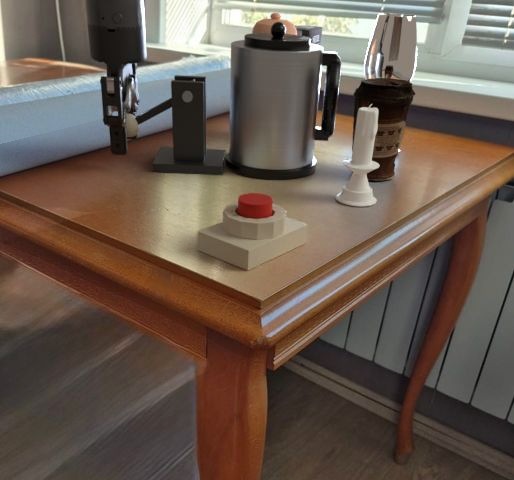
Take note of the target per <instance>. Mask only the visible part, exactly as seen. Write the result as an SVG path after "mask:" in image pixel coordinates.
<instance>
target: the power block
mask: <svg viewBox="0 0 514 480" xmlns="http://www.w3.org/2000/svg"><path fill="white" fill-rule="evenodd" d="M308 229H309V224H308V223H305V222H302V221H299V220H296V219H294V218H290V217H287V211H286V210H285V208H283V207H282V206H280V205H278V204H275V203H272V216H271V217H268V218H262V219H251V218H245V217H242V216H239V215H238V201H235V202H233V203H230V204H228V205H226V206H225V207H224V208H223V210H222V221H221V222H218V223H216V224H213V225H211V226H207V227H205V228H203V229H200V230H198V231H197V251H199V252H201V253H204V254H206V255H208V256H211V257H213V258H216V259H218V260H220V261H223V262H225V263H228V264H230V265H233V266H235V267H237V268H240V269H242V270H245V271H247V272H248V271H250V270H252V269H255V268H256V267H258V266H261V265H262V264H265V263H267V262H270V261H271V260H273V259H276V258H278V257H280V256H281V255H284V254H286V253H288V252H290V251H293V250H294V249H296V248H298V247H300V246H303V245H305V244H307V240H308Z"/></svg>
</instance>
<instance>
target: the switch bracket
mask: <svg viewBox="0 0 514 480" xmlns="http://www.w3.org/2000/svg"><path fill="white" fill-rule="evenodd" d="M173 78H174V79H172V80H171V81H170V87H171V88H170V91H171V93H170V94H171V95H170V96H171V98H172V107H171V122H172V123H171V125H172V147H171V146H160V148H159V150H158V151H157V154H156V155H155V158H154V160H153V161H152V164H151V167H152V172H153V173H170V174H171V173H172V174H192V175H194V174H196V175H216V176H219V175H220V176H223V174H224V168H225V163H226V149H222V148H221V149H219V148H218V149H216V148H207V76H203V75H199V76H198V75H180V74H178V75H177V74H176V75H174V77H173ZM193 79H195V81H191V80H193Z"/></svg>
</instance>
